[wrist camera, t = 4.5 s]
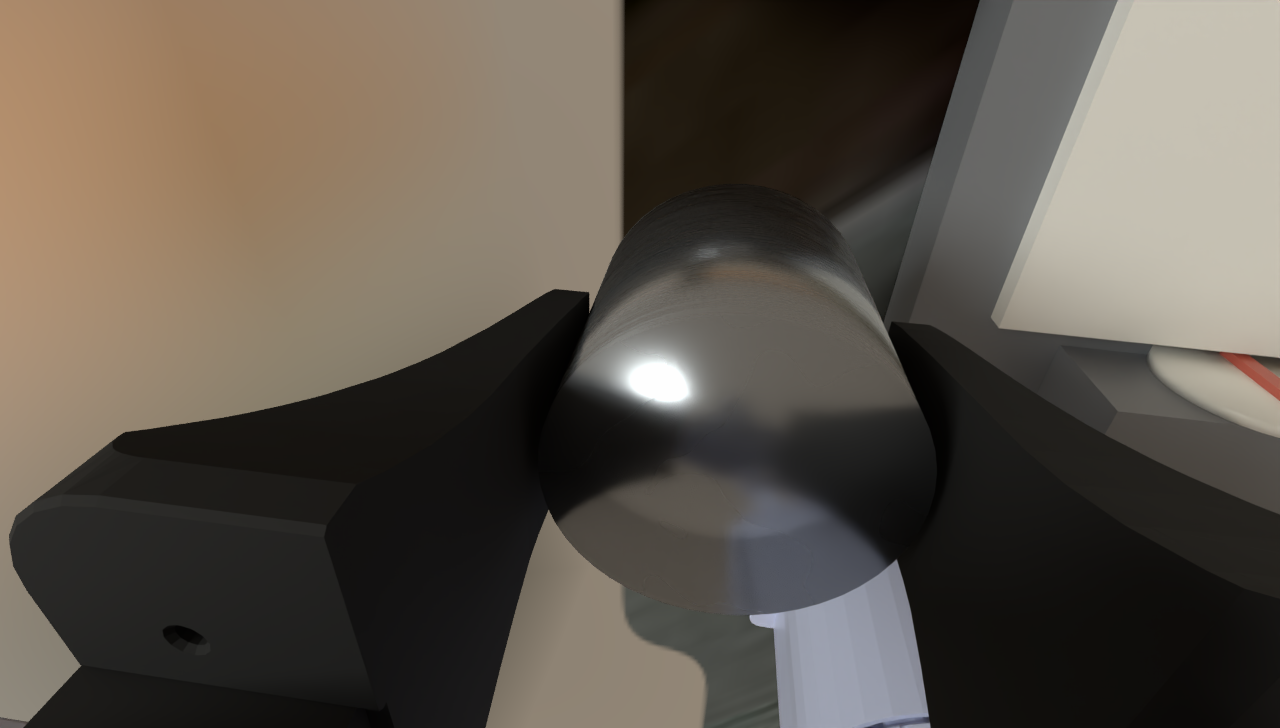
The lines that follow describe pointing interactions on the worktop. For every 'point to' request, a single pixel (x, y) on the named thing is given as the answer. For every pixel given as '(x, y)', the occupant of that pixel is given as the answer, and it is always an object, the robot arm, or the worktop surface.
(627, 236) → the cylinder
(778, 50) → the worktop surface
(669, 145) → the worktop surface
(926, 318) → the kitchen scale
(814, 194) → the worktop surface
